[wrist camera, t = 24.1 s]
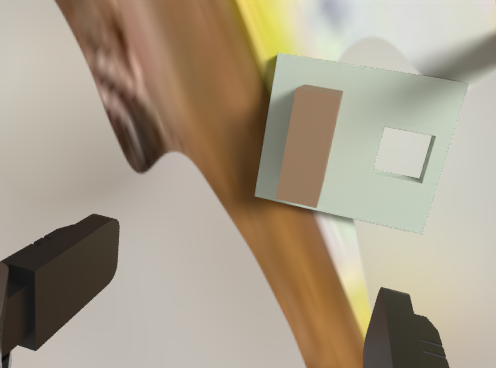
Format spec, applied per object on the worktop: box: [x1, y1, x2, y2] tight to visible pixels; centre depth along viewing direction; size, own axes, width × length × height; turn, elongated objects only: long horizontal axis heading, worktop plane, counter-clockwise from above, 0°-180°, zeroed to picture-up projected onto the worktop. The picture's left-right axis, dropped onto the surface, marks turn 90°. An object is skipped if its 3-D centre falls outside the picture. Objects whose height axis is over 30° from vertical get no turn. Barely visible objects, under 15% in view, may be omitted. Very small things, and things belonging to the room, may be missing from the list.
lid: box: [255, 53, 469, 234], centre depth 32 cm, size 14×12×6 cm
